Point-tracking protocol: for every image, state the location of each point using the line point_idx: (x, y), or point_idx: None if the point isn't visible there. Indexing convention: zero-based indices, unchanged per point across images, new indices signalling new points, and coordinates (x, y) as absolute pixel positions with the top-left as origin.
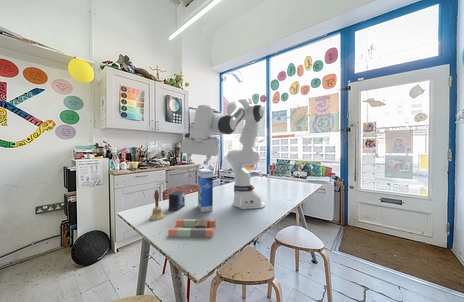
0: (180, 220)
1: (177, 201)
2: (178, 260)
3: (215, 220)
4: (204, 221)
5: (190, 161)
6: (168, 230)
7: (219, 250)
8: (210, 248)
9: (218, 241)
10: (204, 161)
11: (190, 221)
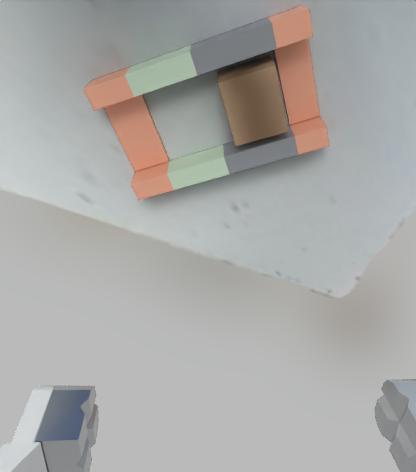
0: (114, 101)
1: None
2: (265, 270)
3: (308, 12)
4: (262, 87)
5: (92, 433)
6: (139, 198)
7: (372, 202)
8: (338, 202)
9: (357, 155)
10: (409, 461)
11: (170, 84)
